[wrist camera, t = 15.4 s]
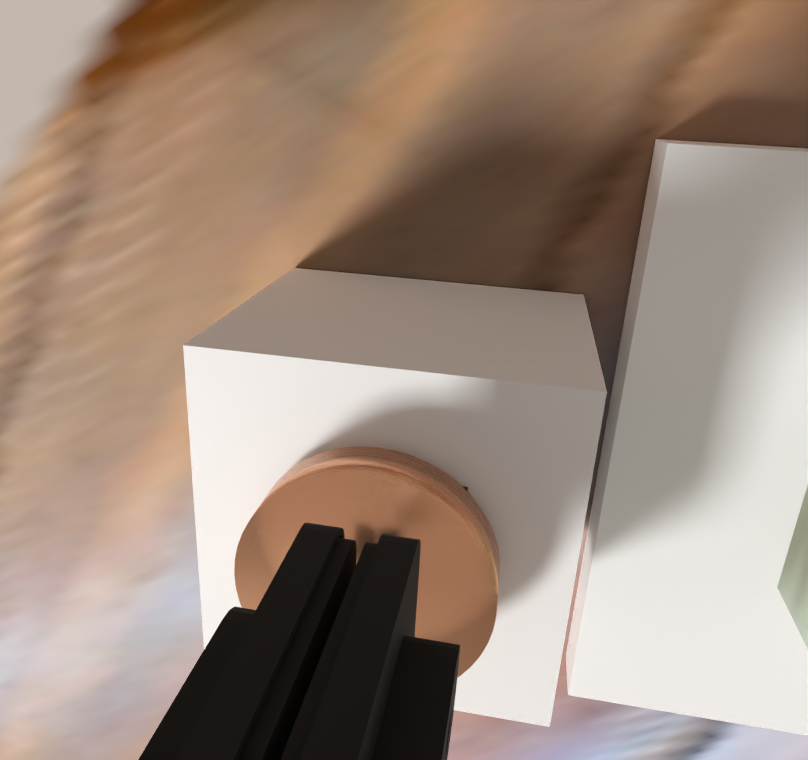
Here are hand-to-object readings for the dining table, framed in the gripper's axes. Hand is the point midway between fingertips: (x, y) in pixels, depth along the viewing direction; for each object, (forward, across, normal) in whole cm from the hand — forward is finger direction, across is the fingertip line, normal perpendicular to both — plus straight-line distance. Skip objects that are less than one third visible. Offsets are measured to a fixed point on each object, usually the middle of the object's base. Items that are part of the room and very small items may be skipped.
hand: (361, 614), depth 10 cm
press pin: (+7, 0, +1) cm, 7 cm away
